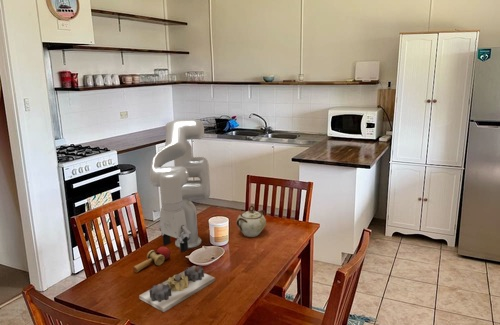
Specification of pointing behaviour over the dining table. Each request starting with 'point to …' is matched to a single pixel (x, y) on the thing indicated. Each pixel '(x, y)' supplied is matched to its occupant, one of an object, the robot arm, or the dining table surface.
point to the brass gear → (178, 283)
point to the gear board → (168, 298)
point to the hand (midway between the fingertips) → (175, 247)
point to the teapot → (251, 222)
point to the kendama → (154, 258)
